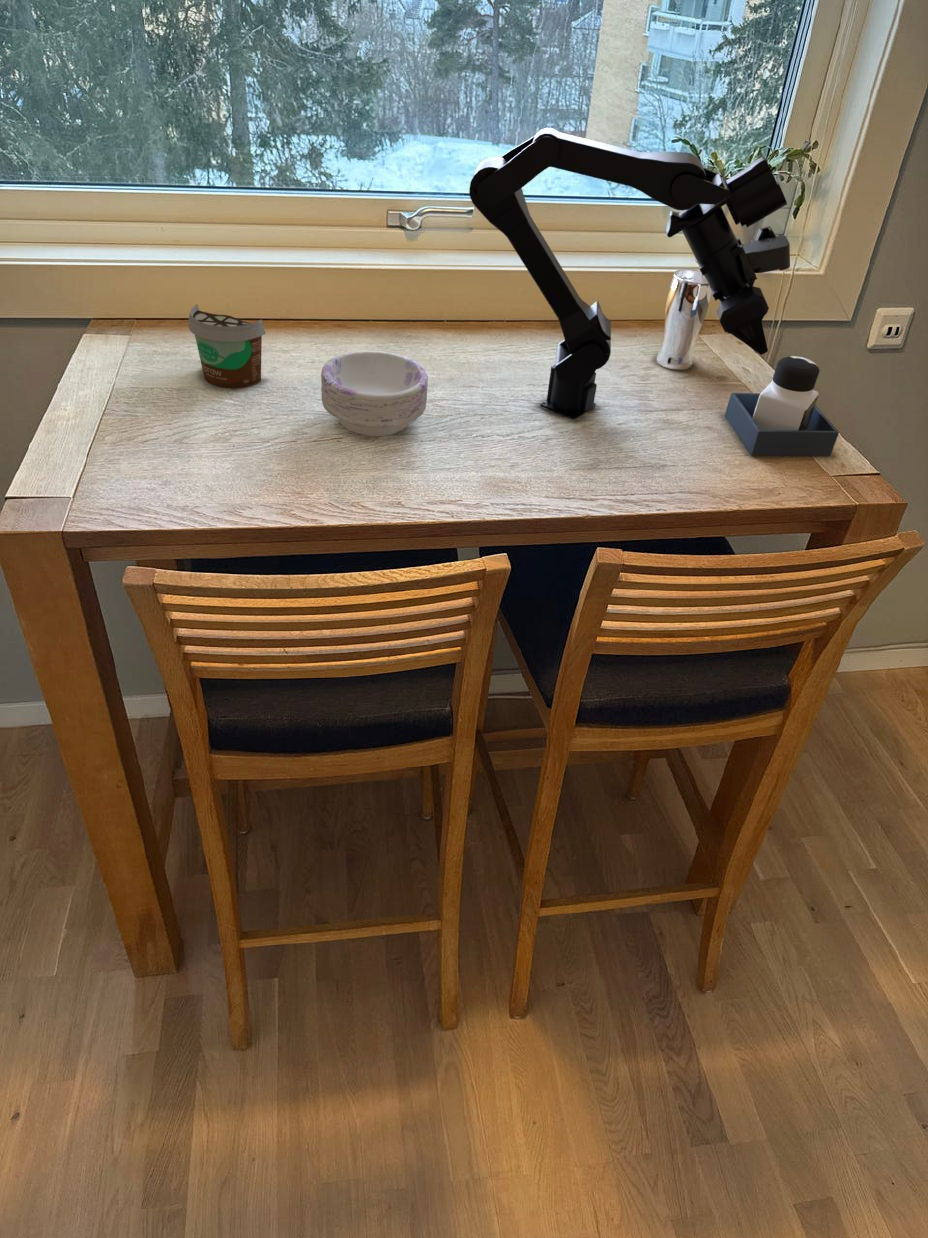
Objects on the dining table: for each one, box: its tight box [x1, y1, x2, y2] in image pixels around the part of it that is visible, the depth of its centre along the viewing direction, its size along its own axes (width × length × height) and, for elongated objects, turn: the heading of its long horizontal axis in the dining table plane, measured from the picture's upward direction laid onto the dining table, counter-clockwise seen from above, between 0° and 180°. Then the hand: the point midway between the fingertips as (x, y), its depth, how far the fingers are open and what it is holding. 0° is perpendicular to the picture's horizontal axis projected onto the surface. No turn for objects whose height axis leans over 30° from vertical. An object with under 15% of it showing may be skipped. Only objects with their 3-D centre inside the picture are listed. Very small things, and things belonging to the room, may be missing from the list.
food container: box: [187, 303, 267, 389], centre depth 136 cm, size 12×6×10 cm, turn 68°
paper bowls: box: [320, 350, 429, 437], centre depth 130 cm, size 15×15×8 cm
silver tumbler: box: [656, 268, 712, 371], centre depth 152 cm, size 7×7×15 cm
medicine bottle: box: [753, 355, 821, 431], centre depth 135 cm, size 7×7×12 cm
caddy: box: [724, 392, 840, 457], centre depth 137 cm, size 12×12×4 cm
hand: (760, 339), depth 131 cm, fingers open, 9 cm apart
